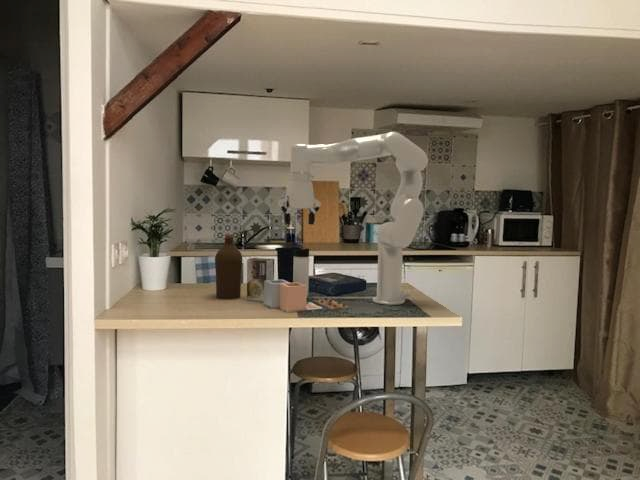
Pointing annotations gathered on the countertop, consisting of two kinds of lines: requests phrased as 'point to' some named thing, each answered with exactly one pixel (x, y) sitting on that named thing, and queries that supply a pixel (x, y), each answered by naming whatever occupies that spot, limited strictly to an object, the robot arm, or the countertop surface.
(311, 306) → the card
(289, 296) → the pink square planter
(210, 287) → the countertop surface
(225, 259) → the olive oil
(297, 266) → the travel mug
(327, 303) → the speckled flat slab
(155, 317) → the countertop surface
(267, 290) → the grey square pot
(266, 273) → the coffee box
